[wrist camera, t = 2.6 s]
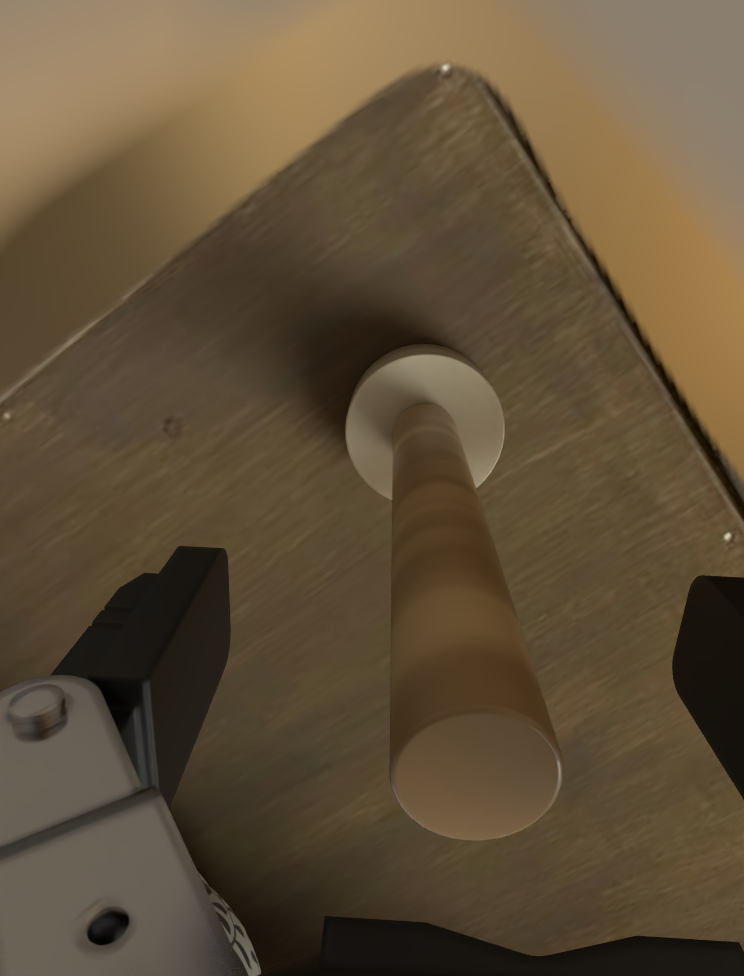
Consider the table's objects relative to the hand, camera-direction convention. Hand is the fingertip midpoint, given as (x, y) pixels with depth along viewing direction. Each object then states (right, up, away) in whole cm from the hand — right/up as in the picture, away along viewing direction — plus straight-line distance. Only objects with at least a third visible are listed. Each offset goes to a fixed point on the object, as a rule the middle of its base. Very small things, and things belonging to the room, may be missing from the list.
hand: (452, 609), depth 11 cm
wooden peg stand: (0, +5, +11) cm, 12 cm away
